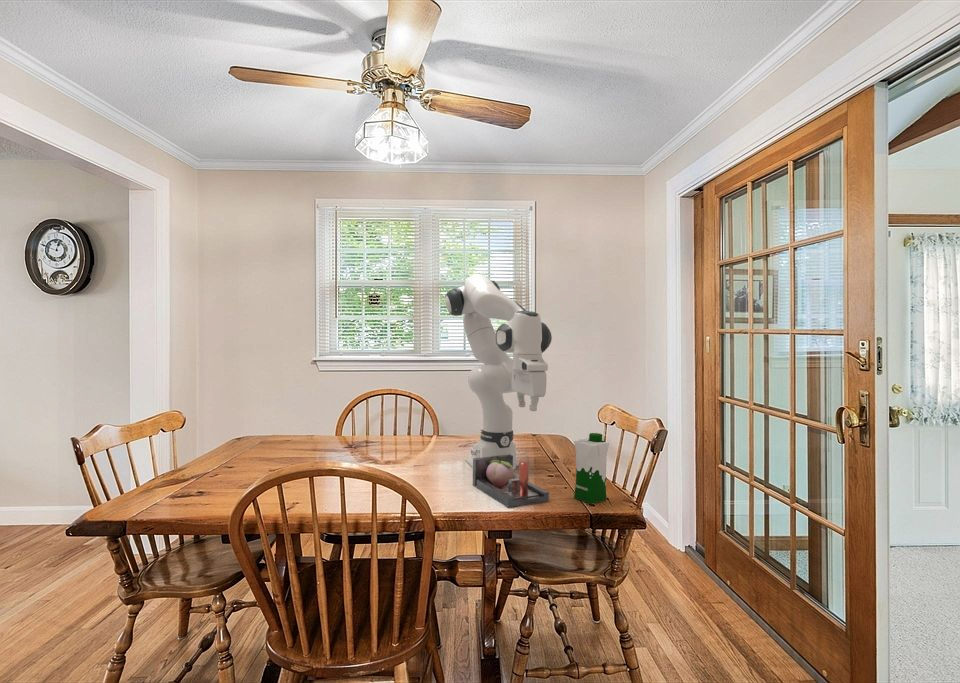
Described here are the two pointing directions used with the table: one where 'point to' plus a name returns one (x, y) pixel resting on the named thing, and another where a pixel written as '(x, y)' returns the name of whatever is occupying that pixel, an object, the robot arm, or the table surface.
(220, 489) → the table surface
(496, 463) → the decorative fruit
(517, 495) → the handle
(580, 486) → the milk carton
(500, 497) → the press base
